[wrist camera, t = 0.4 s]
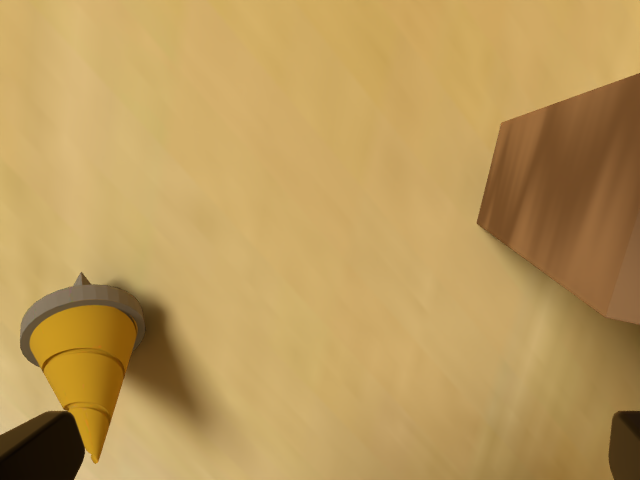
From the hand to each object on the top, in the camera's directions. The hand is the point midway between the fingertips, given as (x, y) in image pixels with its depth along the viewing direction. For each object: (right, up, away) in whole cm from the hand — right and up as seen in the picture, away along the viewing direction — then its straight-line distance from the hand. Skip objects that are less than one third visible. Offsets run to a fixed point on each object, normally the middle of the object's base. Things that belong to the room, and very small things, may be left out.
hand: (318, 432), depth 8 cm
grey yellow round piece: (-10, -1, +17) cm, 20 cm away
